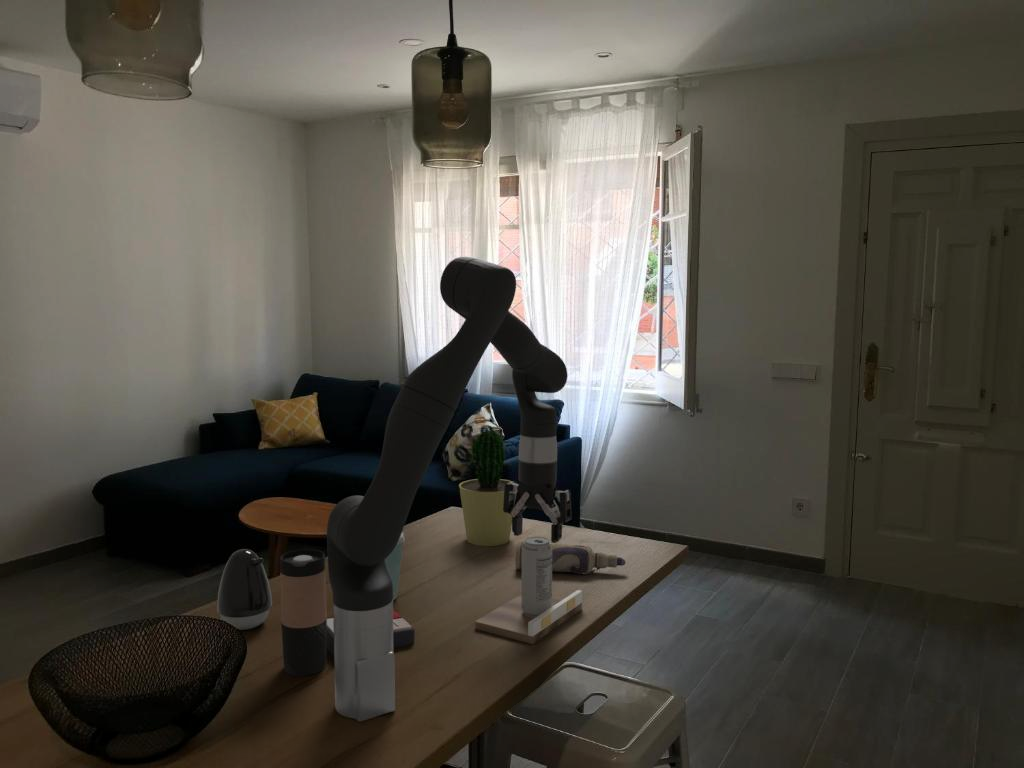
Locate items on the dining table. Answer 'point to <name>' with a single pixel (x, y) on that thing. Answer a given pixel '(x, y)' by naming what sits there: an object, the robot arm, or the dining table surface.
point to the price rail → (554, 613)
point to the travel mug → (303, 611)
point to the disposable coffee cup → (395, 564)
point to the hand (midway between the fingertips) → (536, 538)
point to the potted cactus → (486, 494)
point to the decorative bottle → (574, 558)
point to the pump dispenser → (244, 591)
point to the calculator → (401, 633)
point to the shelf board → (518, 621)
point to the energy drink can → (536, 576)
